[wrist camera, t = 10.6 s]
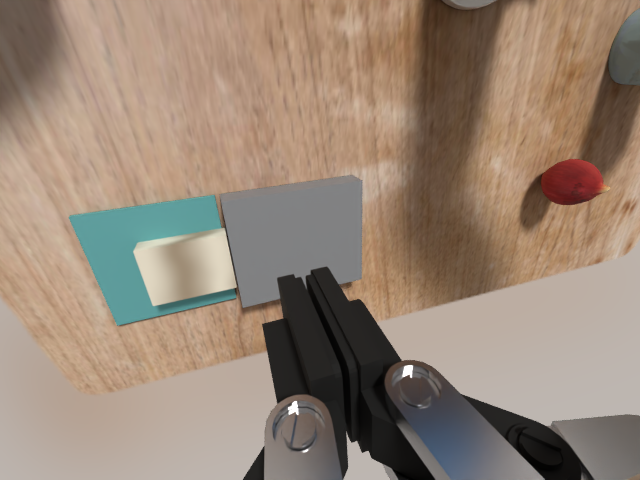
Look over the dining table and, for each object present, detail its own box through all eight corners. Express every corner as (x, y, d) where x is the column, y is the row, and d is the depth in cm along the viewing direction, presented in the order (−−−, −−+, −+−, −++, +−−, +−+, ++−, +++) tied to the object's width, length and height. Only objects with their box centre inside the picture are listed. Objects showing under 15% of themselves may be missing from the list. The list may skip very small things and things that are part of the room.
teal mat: (214, 194, 30) (214, 196, 30) (236, 295, 35) (236, 297, 35) (70, 215, 27) (68, 217, 26) (118, 323, 32) (117, 325, 32)
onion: (539, 202, 45) (599, 222, 38) (519, 185, 42) (580, 203, 36) (566, 166, 44) (632, 180, 37) (547, 146, 41) (615, 157, 34)
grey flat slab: (352, 175, 34) (362, 180, 32) (352, 268, 39) (361, 279, 37) (219, 194, 30) (220, 201, 28) (240, 294, 35) (242, 307, 33)
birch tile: (225, 227, 31) (226, 235, 29) (235, 277, 34) (237, 287, 32) (137, 242, 29) (133, 252, 27) (155, 294, 32) (153, 306, 30)
